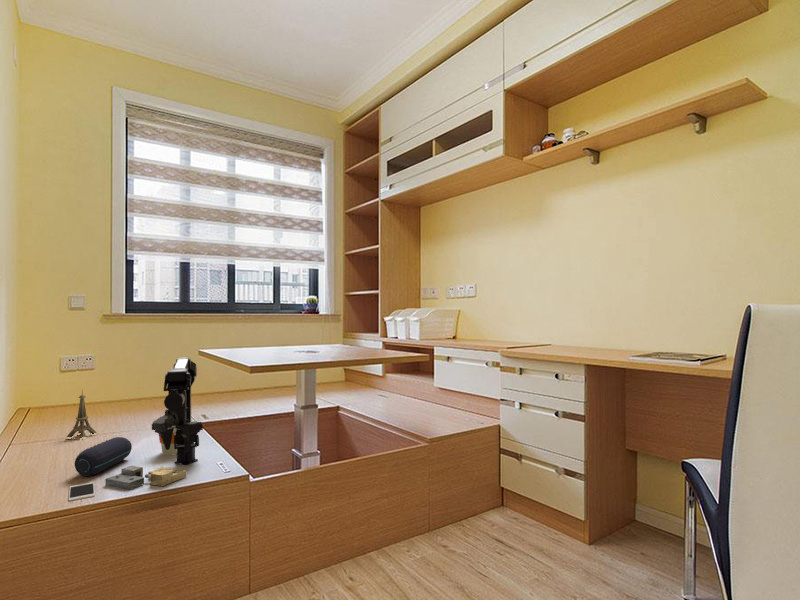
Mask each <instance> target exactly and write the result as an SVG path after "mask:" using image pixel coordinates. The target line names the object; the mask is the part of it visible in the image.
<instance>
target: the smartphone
mask: <svg viewBox="0 0 800 600" xmlns="http://www.w3.org/2000/svg"><path fill="white" fill-rule="evenodd" d="M95 493H96V492H95V482H94V481H93V482H85V483H81V484H76V485H70V486H69V492H68V502H73V500H74V501H79V500H78V499H80V500H84V498H85V499H90V498H94V497H95V495H96V494H95Z"/></svg>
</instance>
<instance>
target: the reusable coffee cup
mask: <svg viewBox="0 0 800 600" xmlns="http://www.w3.org/2000/svg"><path fill="white" fill-rule="evenodd" d="M176 430H177V429H176V428H174V430H173V435H172V440H171V445H170V449H169V450H166V448H165V445H164V443H163V440H162V438H161V436H160V435H159V434H158V438H159V439H158V440H159V443H160V445H161V454H162V455H163V454H164V456H173V455H172V454H176V455H177V449H174V434H176Z"/></svg>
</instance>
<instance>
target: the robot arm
mask: <svg viewBox="0 0 800 600" xmlns="http://www.w3.org/2000/svg"><path fill="white" fill-rule="evenodd" d="M197 376H198V368H197V363H195V362H194V361H192V360H191V357H178V358H176V360H175V363H174V364H173V368H171V369H168V371H167V373H165V376H164V382H163V383H164V384H163V392H168V394H167V395H166V397H164V401H163V405H164V407H165V408H166V409H165V410H164V415H163V416H160V417H158V418H157V419H155V420H154V421H152V423H151V430H152V431H154V432H155V433H157V434H158V436H159V435H160V436H161V438H162V440H163V443H164V445H165V448H166V450H169V449H170V445H171V440H172V435H173V430H174V428H176V429H177V430H176V434H174V449H177V454H176V460H175V461H174V464H176V465H183V466H186V465H190V464H192V463H195V462H198V461H199V458H198V459H197V458H196V448H197V447H199V446H200V435H199V433H200V432H201V431H203V430H204V424H203V423H202V421H195V420H194V421H192V386H193V384H194V382H196V377H197Z"/></svg>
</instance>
